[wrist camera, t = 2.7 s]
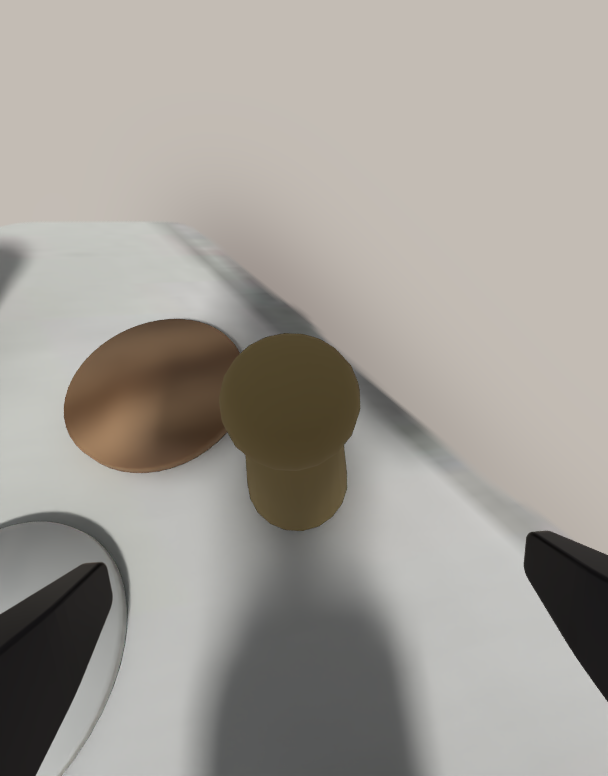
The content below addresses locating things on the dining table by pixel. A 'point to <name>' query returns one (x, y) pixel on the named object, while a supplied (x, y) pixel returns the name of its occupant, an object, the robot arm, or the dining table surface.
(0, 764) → the robot arm
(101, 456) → the walnut trivet
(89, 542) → the grey round disc
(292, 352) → the olive chess pawn
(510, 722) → the dining table surface
